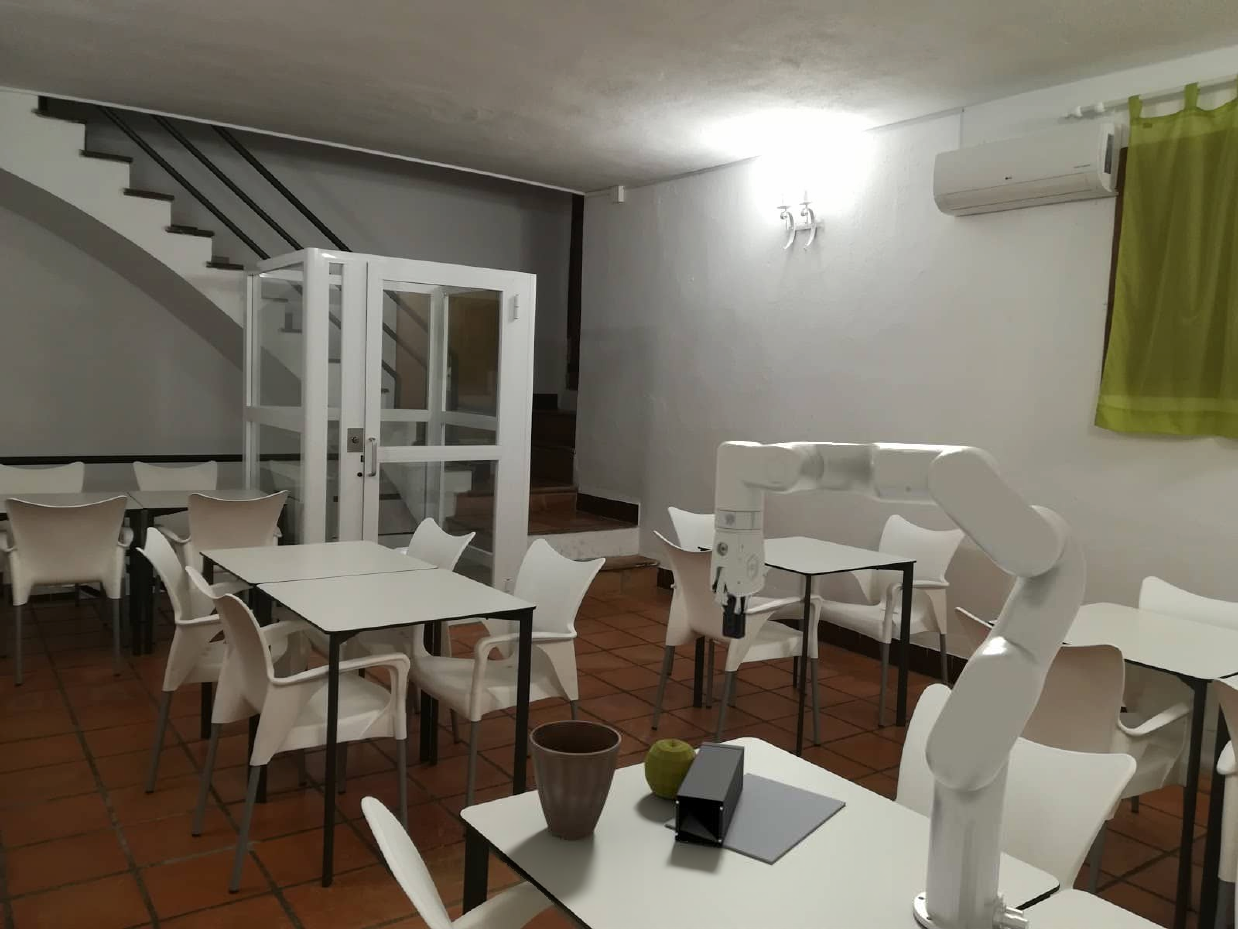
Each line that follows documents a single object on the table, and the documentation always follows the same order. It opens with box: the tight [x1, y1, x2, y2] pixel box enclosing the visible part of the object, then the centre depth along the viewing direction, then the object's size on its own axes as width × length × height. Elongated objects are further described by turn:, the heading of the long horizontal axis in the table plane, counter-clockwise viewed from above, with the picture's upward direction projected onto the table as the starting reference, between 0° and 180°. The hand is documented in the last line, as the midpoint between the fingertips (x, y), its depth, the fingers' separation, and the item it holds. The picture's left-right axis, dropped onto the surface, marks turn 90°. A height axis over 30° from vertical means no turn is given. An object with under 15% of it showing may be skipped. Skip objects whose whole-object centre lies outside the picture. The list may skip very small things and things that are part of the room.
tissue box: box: [674, 741, 746, 848], centre depth 169 cm, size 8×8×28 cm
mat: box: [664, 772, 847, 865], centre depth 168 cm, size 20×29×1 cm
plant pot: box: [529, 720, 622, 841], centre depth 158 cm, size 15×15×16 cm
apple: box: [643, 737, 697, 800], centre depth 174 cm, size 10×10×11 cm
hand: (733, 636), depth 151 cm, fingers closed
